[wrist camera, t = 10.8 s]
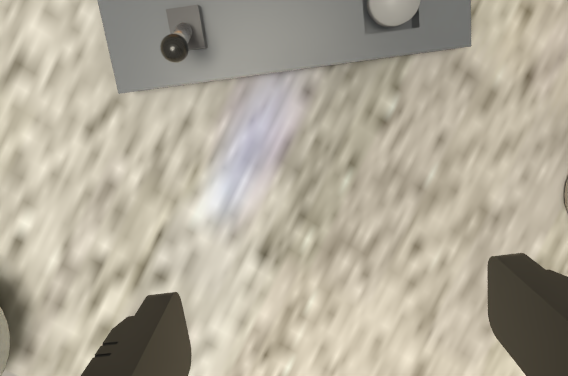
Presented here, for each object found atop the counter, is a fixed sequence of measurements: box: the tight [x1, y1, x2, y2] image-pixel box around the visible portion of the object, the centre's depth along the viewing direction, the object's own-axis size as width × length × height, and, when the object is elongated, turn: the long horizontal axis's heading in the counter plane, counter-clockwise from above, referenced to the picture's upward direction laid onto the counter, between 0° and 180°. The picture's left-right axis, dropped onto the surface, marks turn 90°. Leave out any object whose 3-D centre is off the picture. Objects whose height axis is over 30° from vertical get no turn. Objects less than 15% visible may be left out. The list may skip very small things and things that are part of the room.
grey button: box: [367, 0, 420, 27], centre depth 32 cm, size 4×4×2 cm
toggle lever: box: [160, 23, 192, 63], centre depth 29 cm, size 2×2×6 cm
